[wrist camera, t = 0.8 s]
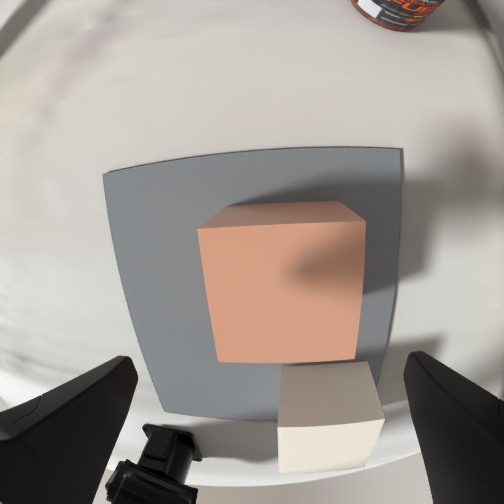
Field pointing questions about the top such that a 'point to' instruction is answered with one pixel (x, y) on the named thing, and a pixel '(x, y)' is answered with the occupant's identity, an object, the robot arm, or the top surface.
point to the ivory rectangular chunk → (327, 417)
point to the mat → (191, 271)
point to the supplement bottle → (396, 12)
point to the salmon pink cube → (284, 281)
